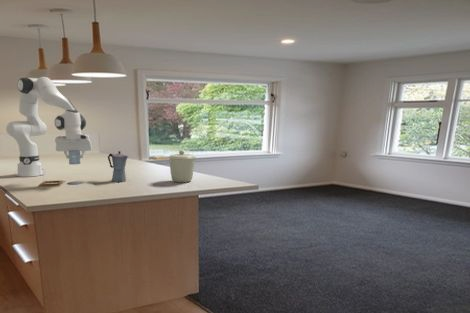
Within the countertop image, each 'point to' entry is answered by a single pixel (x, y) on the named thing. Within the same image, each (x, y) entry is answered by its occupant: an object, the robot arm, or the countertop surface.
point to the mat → (75, 183)
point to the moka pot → (118, 166)
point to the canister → (181, 167)
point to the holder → (51, 183)
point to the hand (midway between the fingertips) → (74, 158)
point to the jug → (74, 157)
